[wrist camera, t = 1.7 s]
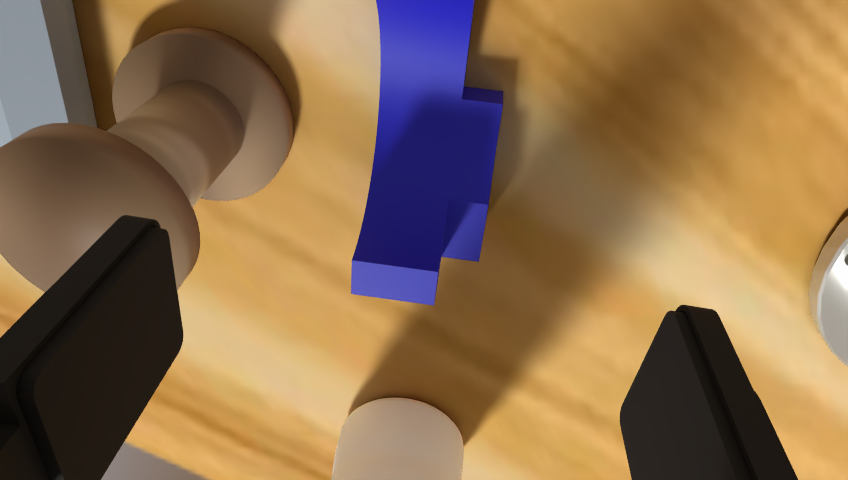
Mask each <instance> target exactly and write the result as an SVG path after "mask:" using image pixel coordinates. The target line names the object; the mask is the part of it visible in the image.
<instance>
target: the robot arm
mask: <svg viewBox="0 0 848 480" xmlns="http://www.w3.org/2000/svg"><path fill="white" fill-rule="evenodd" d="M809 302H810V312H811V316H812V318H813V320H814V323H815V325H816V328H817V330H818V332H819V334H820V335H821V336H822V338H823V339H824V341H825V342H826V344H827V345H828V347H829V348H830V350H831V352H832V353H833V354H834V355H835V356H836V357H837V358H838V359H839V360H840V361H841V362H842V363H844V364H845V365H846V366H848V216H847V217H846V218H845V219H844V220H843V221H842V222H841V223H840V224H839V225H838V227H837V228H836V230H835V231H834V232H833V234H832V235H831V237H830V238H829V240H828V241H827V243H826V244H825V245H824V247H823V249H822V251H821V253H820V255H819V258H818V260H817V262H816V265H815V267H814V269H813V272H812V277H811V283H810V289H809ZM182 342H183V328H182V321H181V314H180V307H179V300H178V294H177V287H176V280H175V273H174V266H173V259H172V252H171V245H170V238H169V234H168V231H167V230H166V229H162V228H161V227H160V224H159V222H158V221H157V220H155V219H149V218H142V217H136V216H130V215H123V216H121V217H120V218H118V219H117V220H116V221H115V222H114V223H113V224H112V226H111V227H110V228H109V229H108V230H107V231H106V232H105V233H104V234H103V235H102V236H101V237H100V238H99V239H98V240H97V241H96V242H95V243H94V244H93V245H92V246H91V247H90V248H89V249H88V250H87V251H86V252H85V253H84V254H83V255H82V256H81V257H80V258H79V259H78V260H77V261H76V262H75V263H74V264H73V265H72V266H71V267H70V268H69V269H68V270H67V271H66V272H65V273H64V274H63V275H62V276H61V277H60V278H59V279H58V280H57V281H56V282H55V283H54V284H53V285H52V286H51V287H50V288H49V289H48V290H47V291H46V292H45V293H44V294H43V295H42V296H41V297H40V298H39V299H38V300H37V301H36V302H35V303H34V304H33V305H32V306H31V307H30V308H29V309H28V310H27V311H26V312H25V313H24V314H23V315H22V316H21V317H20V318H19V319H18V320H17V321H16V322H15V324H14V325H13V326H12V327H11V328H10V329H9V330H8V331H7V332H6V333H5V334H4V335H3V336H2V337H1V338H0V480H101V478H102V477H103V475H104V473H105V472H106V470H107V469H108V467H109V465H110V464H111V462H112V461H113V459H114V457H115V456H116V454H117V452H118V451H119V449H120V447H121V446H122V444H123V443H124V441H125V439H126V438H127V436H128V434H129V433H130V431H131V430H132V428H133V426H134V425H135V423H136V421H137V420H138V418H139V416H140V415H141V413H142V412H143V410H144V408H145V407H146V405H147V403H148V402H149V400H150V399H151V397H152V395H153V394H154V392H155V390H156V389H157V387H158V386H159V384H160V382H161V381H162V379H163V377H164V376H165V374H166V372H167V371H168V369H169V368H170V366H171V364H172V363H173V361H174V359H175V358H176V356H177V355H178V353H179V351H180V349H181V346H182ZM620 426H621V431H622V435H623V440H624V445H625V449H626V454H627V459H628V463H629V468H630V473H631V478H632V480H798V478H797V476H796V474H795V472H794V470H793V468H792V466H791V464H790V461H789V459H788V457H787V455H786V453H785V451H784V449H783V447H782V444H781V442H780V440H779V438H778V436H777V434H776V432H775V430H774V427H773V425H772V423H771V421H770V419H769V417H768V415H767V413H766V410H765V408H764V406H763V404H762V402H761V400H760V398H759V397H758V395H757V394H756V392H755V391H754V390H753V388H752V386H751V384H750V382H749V379H748V377H747V375H746V373H745V371H744V369H743V367H742V364H741V362H740V360H739V358H738V356H737V354H736V352H735V349H734V347H733V345H732V343H731V341H730V339H729V337H728V334H727V332H726V330H725V328H724V326H723V324H722V322H721V319H720V317H719V315H718V314H717V312H716V311H714V310H712V309H706V308H700V307H694V306H688V305H680V306H679V307H678V308H677V309H676V311H669V312H667V313H666V315H665V317H664V319H663V321H662V323H661V325H660V327H659V329H658V331H657V333H656V335H655V337H654V340H653V342H652V344H651V346H650V348H649V350H648V352H647V354H646V356H645V358H644V360H643V362H642V365H641V367H640V369H639V371H638V373H637V375H636V377H635V379H634V381H633V383H632V385H631V388H630V390H629V392H628V394H627V396H626V398H625V400H624V402H623V404H622V407H621V411H620Z"/></svg>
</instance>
